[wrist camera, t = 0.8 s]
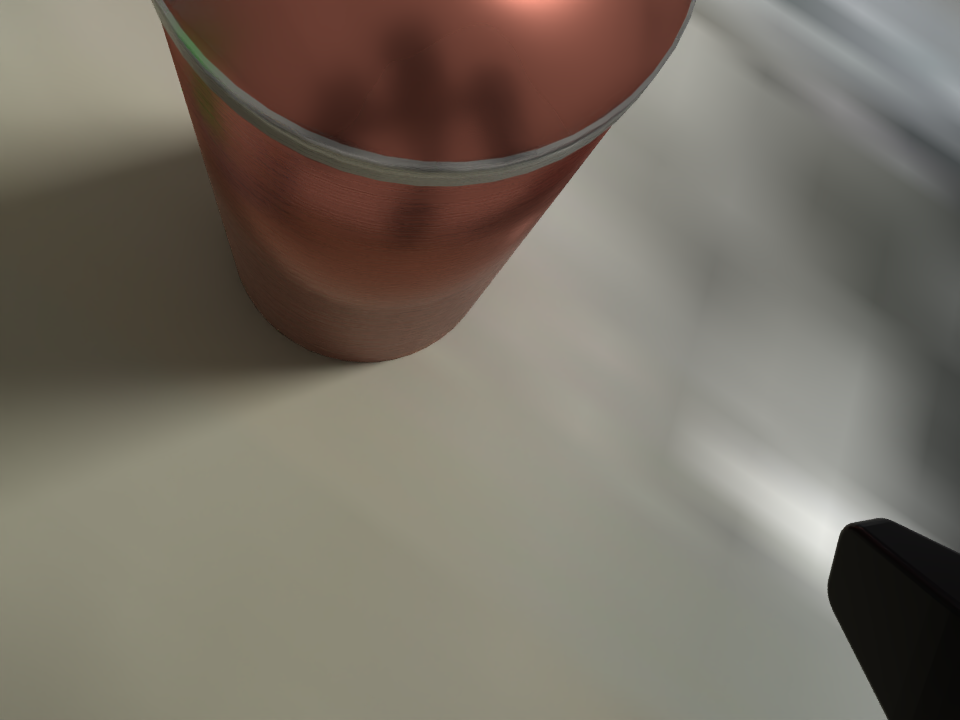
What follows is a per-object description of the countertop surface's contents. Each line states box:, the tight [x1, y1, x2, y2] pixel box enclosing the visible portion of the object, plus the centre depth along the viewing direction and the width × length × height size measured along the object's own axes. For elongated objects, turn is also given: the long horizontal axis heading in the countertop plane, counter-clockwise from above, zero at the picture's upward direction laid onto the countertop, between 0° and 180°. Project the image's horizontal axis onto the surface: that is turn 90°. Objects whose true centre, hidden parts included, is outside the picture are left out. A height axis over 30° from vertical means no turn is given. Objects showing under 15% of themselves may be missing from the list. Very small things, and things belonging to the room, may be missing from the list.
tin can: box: [151, 0, 696, 362], centre depth 16 cm, size 6×6×13 cm
